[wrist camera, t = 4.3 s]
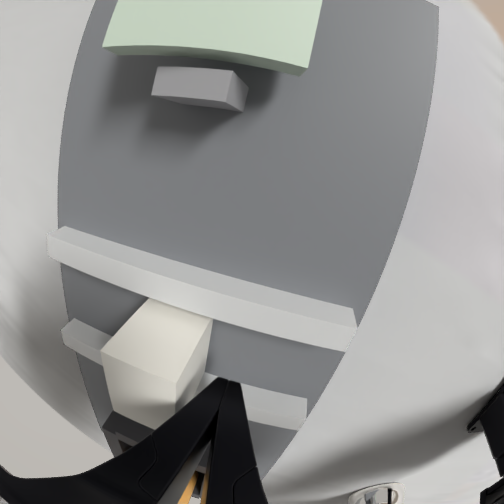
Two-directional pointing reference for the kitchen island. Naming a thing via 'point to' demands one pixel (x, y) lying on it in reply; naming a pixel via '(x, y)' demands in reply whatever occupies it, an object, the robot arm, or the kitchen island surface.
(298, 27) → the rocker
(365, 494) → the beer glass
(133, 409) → the cream rectangular brick
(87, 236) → the panel
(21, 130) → the kitchen island surface
